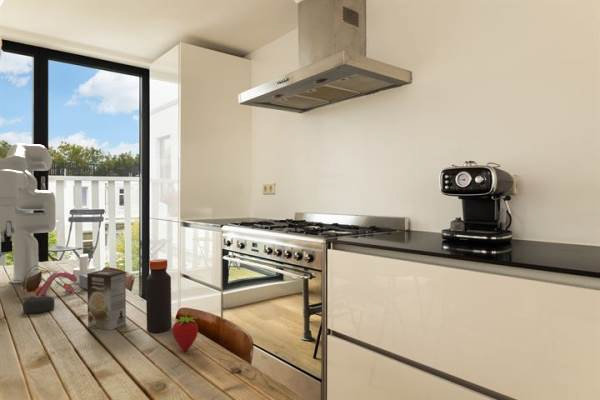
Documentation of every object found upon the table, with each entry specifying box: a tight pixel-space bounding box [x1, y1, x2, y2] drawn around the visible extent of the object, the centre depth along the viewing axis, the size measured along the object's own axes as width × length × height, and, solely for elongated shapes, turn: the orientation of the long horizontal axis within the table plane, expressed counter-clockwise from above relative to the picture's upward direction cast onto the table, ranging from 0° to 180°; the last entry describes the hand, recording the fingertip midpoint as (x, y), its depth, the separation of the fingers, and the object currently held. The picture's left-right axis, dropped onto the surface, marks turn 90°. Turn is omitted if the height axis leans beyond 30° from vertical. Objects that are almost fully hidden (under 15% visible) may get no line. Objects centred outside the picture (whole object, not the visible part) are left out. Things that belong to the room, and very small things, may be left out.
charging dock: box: [78, 274, 87, 291], centre depth 161 cm, size 15×2×5 cm, turn 46°
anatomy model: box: [20, 265, 77, 297], centre depth 152 cm, size 11×15×17 cm
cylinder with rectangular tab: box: [72, 253, 96, 284], centre depth 176 cm, size 9×9×12 cm
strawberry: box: [172, 311, 199, 352], centre depth 94 cm, size 6×8×10 cm
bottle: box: [145, 258, 173, 334], centre depth 110 cm, size 7×7×20 cm
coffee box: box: [86, 269, 127, 331], centre depth 114 cm, size 9×6×16 cm
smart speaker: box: [22, 296, 55, 315], centre depth 130 cm, size 9×9×4 cm
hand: (6, 251), depth 142 cm, fingers closed
